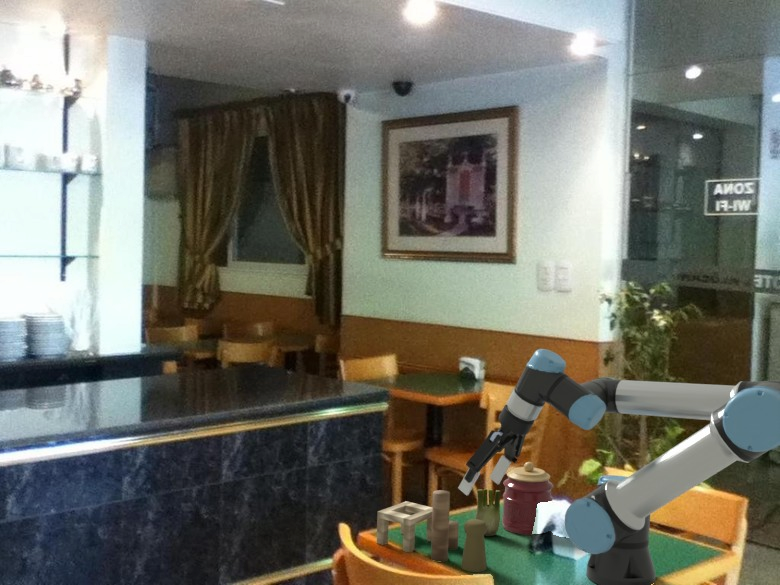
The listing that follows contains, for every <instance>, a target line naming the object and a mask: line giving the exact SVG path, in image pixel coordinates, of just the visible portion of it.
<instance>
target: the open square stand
mask: <svg viewBox="0 0 780 585" xmlns="http://www.w3.org/2000/svg"><path fill="white" fill-rule="evenodd" d="M432 509H433V506H427V505H423V504H419V503H415V502H413V501H412V502H411V501H408V500H407V501H406V500H405V501H403V502H400V503H398V504H394V505H393V506H390V507H386V508H383V509H381V510H378V511H377V514H376V515H377V517H376V520H377V521H376V544H378V545H382V546H384V545H387V544H389V522H393V523H396V524H400V534H401V535H402V551H403V552H406V553H411V551H412V552H414V551H415V545H416V544H415V543H416V542H415V540H416V525H417V524H419V523H421V522H424V521H426V537H425V538H426V539H425V540H427V542H430V541H431V540H432ZM386 543H387V544H386ZM413 550H414V551H413Z"/></svg>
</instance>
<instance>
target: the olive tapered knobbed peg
mask: <svg viewBox="0 0 780 585" xmlns="http://www.w3.org/2000/svg"><path fill="white" fill-rule="evenodd" d="M463 530H464V533H465V538H464V539H465V541H464V546H463V552H462V557H461V565H460V567H461V569H462V570H465V571H467V572H472V573H473V572H474V573H477V572H478V573H480V572H484V571H486V570H487V569H488V565H487V554H486V552H487V551H486V545H485V544H486V543H485V536H484V535H485V533H486V531H487V527H486V523H485V522H484V521H482V520H479V519H475V518H471V519H468V520H466V521H465V523H464V526H463Z"/></svg>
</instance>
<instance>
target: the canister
mask: <svg viewBox="0 0 780 585" xmlns="http://www.w3.org/2000/svg"><path fill="white" fill-rule="evenodd" d="M506 476H507V478H506V479H505V480H503V486H504V488H505V489H504V492H503V494H502V498H503V499H502V500H503V501H502V502H503V504H502V516H501V523H502V527H503V529H504V530H506V531H508V532H510V533H514V534H519V535H524V536H525V535H526V536H532V535H531V534H532V531H533V526H534V522H535V517H536V508H537V504H538V503H540V502H548V501H552V502H553V500H554V498H553V496H552V489H554V485H553V483H552V482H551V481H550V479H551V475H550V474H549V473H548V472H546V471H545V470H543V469H542V468H538V467H535V465H534V463H533V462H531V461H527V462H525V463H524V465H523V466H518V467H514V468H513V469H512V470H510V471H508V472H506Z"/></svg>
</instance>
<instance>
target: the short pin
mask: <svg viewBox="0 0 780 585" xmlns="http://www.w3.org/2000/svg"><path fill="white" fill-rule="evenodd" d="M459 525H460V524H459V521H456V520H450V519H449V539H448V549H450V550H457V549H459V528H460V526H459ZM450 550H449V551H450Z"/></svg>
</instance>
